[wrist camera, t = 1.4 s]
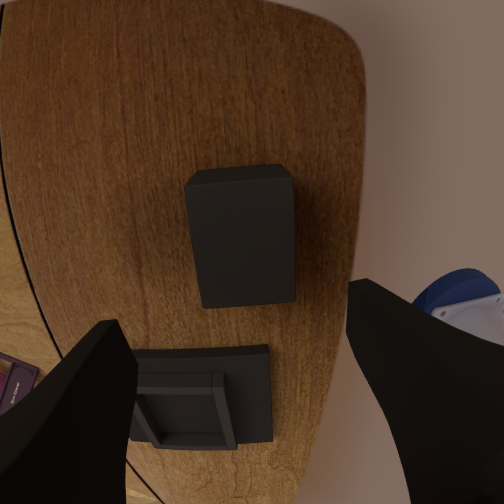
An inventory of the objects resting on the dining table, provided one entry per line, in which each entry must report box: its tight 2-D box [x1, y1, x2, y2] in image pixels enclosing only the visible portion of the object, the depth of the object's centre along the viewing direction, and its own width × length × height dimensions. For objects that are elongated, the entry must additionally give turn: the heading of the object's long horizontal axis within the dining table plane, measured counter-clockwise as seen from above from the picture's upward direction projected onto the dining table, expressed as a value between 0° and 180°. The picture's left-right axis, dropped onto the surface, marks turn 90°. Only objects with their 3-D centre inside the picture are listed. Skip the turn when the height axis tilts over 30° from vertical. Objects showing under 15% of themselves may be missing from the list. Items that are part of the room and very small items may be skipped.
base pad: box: [129, 345, 273, 450], centre depth 22 cm, size 14×12×2 cm
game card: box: [0, 353, 39, 416], centre depth 20 cm, size 7×5×9 cm
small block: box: [184, 164, 296, 309], centre depth 15 cm, size 4×6×4 cm
